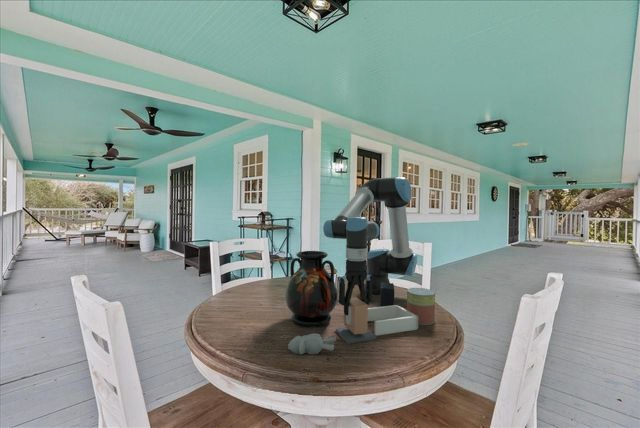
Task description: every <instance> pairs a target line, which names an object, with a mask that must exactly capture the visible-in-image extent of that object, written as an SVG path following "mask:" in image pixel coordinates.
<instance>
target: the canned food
mask: <svg viewBox="0 0 640 428" xmlns="http://www.w3.org/2000/svg"><path fill="white" fill-rule="evenodd" d="M406 291H407V293H406V295H407V296H406V310H407V311H409V312H411V313H413V314H415V315H417V316H418V325H420V326H431V325H433V324H435V323H436V322H435V319H436V318H435V316H436V313H435V312H436V291H434V290H432V289H429V288H425V287H410V288H407V289H406Z"/></svg>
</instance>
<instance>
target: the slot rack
mask: <svg viewBox="0 0 640 428" xmlns="http://www.w3.org/2000/svg"><path fill="white" fill-rule="evenodd" d="M373 321H374V322H373ZM367 322H373V325H374V326H373V335H375V336H376V337H377V336H382V335H389V334H396V333H402V332H409V331H416V330H419V324H418V316H417V315H415V314H413V313H411V312H409V311H407V308H404V307H402V306H400V305H398V304H394V305H392V306H383V307H380V306H376V307H368V321H367Z"/></svg>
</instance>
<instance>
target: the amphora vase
mask: <svg viewBox="0 0 640 428" xmlns="http://www.w3.org/2000/svg"><path fill="white" fill-rule="evenodd" d="M295 255H296V257H295V258H293V259H292V260H291V263H290V276H289V277H290V280H289V281H288V283H287V285H286V288H285V297H284V299H285V303H286V306H287V308H288V309H289V311H290V312H291V313H292V314H291V317H290V319H291V321H292V322H293V323H294V324H295V325H298V326H300V327H306V328H317V327H323V326H325V325H328V324H329V323H330V322H331V320H332V315H331V313H332V312H333V311H334V310H335V308H336V306H337V304H338V300H339V294H338V293H339V292H338V287H337V286H336V282H335V266H334V263H333V262H332V261H331V260H330V259H329V260H324V259H325V258H327V257H328V253H327V252H325V251H321V250H320V251H318V250H304V251H303V250H302V251H299V252H297V253H296V254H295ZM296 262H297V263H298V264H299V268H298V269H297V270H296V271H295V263H296ZM326 264H327V265H329V267H330V273H329V272H328V271H327V269H326V268H325V265H326Z"/></svg>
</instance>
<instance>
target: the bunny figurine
mask: <svg viewBox="0 0 640 428" xmlns="http://www.w3.org/2000/svg"><path fill="white" fill-rule="evenodd" d="M336 340H337V339H336V336H330V337H325V338H322V337H321V335H320V334H319V333H315V332H314V333H310V334H305V335H304V334H303V336H301V335H296V336H295V337H294V338H292V339H290V341H289V343H288V344H287V347H288V351H291V352H292V353H293V354H299V355H303V354H309V355H318V354H319V353H320V352H321V351H322V350H323V349H324V350H327V351H334V350H335V345H334V344H333V343H331V342H336Z"/></svg>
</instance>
